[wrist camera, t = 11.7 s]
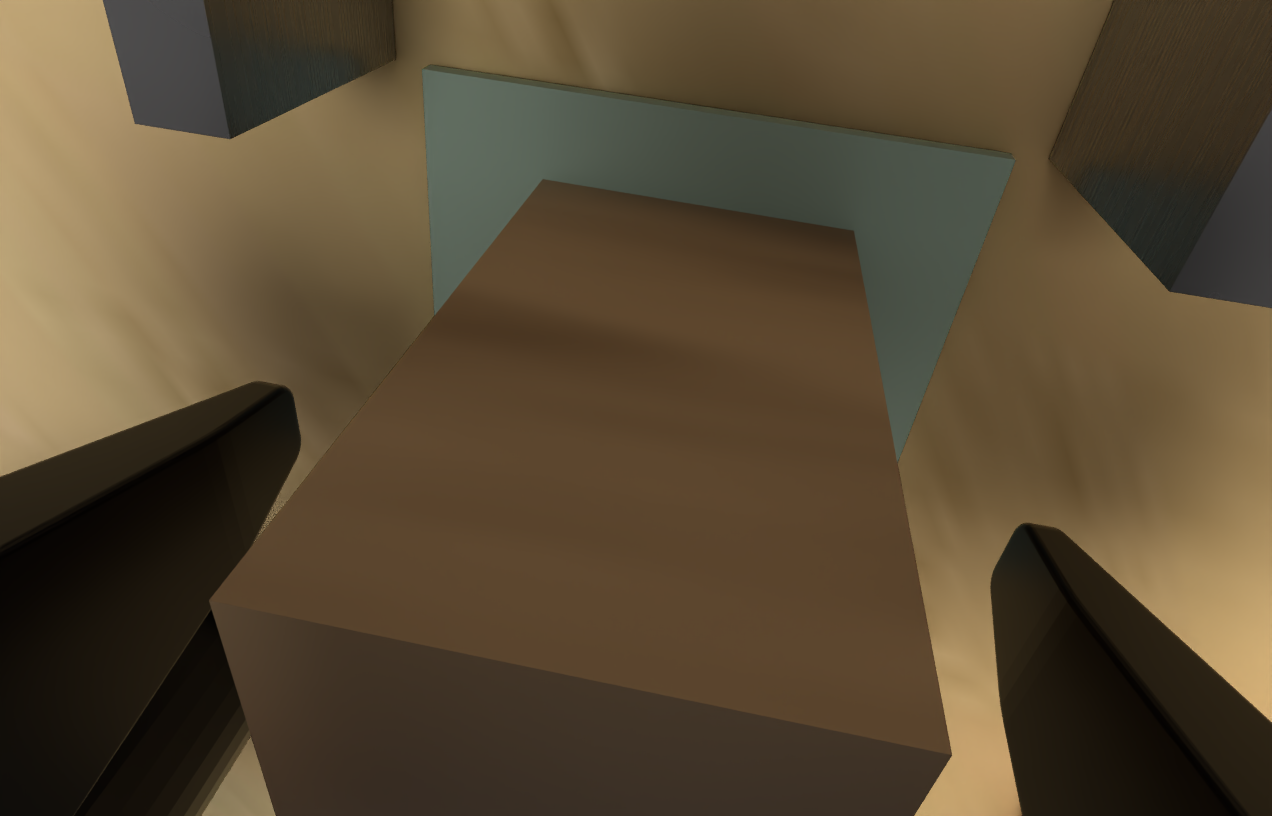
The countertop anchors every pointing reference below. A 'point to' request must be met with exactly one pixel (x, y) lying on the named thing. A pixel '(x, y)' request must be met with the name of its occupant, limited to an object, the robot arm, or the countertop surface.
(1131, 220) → the bent rails
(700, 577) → the walnut block
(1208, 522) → the countertop surface
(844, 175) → the mat
